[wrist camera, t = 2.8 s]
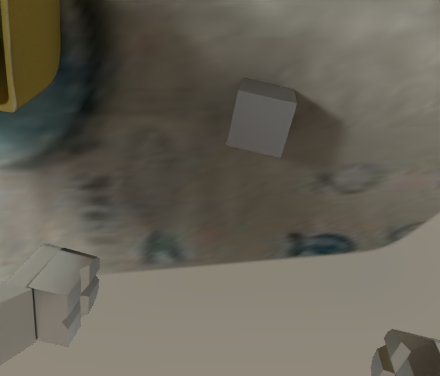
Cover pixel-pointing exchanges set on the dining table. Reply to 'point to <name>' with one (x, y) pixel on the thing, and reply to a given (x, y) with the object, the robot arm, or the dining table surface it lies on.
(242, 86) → the plain grey cube
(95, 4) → the dining table surface
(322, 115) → the dining table surface
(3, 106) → the flower pot
